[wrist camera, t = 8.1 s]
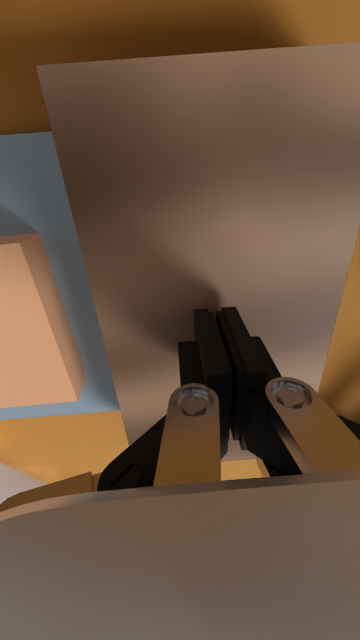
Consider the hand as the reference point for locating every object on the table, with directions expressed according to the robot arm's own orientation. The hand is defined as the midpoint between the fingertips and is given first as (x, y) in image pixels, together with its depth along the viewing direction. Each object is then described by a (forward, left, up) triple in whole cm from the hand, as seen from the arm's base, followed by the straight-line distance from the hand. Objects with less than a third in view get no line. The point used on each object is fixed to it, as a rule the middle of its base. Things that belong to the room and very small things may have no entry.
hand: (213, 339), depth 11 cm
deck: (0, 0, -5) cm, 5 cm away
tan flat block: (+1, -11, -2) cm, 11 cm away
